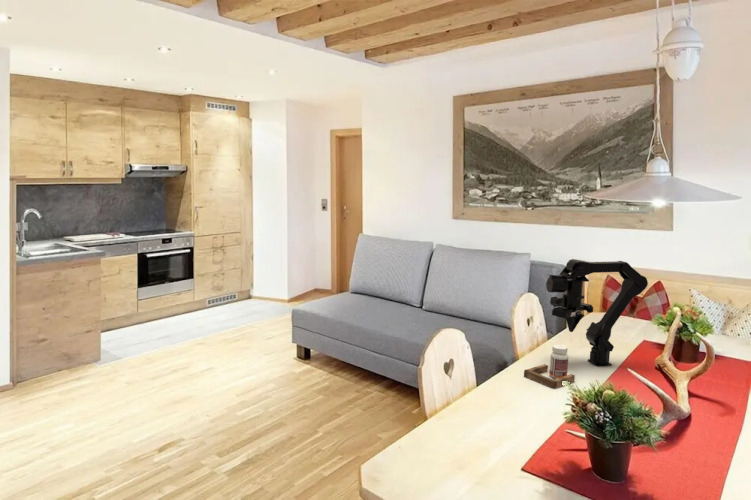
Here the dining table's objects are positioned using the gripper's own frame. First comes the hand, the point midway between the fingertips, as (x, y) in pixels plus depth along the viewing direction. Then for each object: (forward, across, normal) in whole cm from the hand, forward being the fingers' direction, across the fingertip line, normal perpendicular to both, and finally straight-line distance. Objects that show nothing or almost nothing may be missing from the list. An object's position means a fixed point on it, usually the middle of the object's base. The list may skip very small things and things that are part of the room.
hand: (571, 331), depth 202 cm
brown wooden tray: (+13, +19, +6) cm, 24 cm away
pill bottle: (+13, +15, +6) cm, 21 cm away
